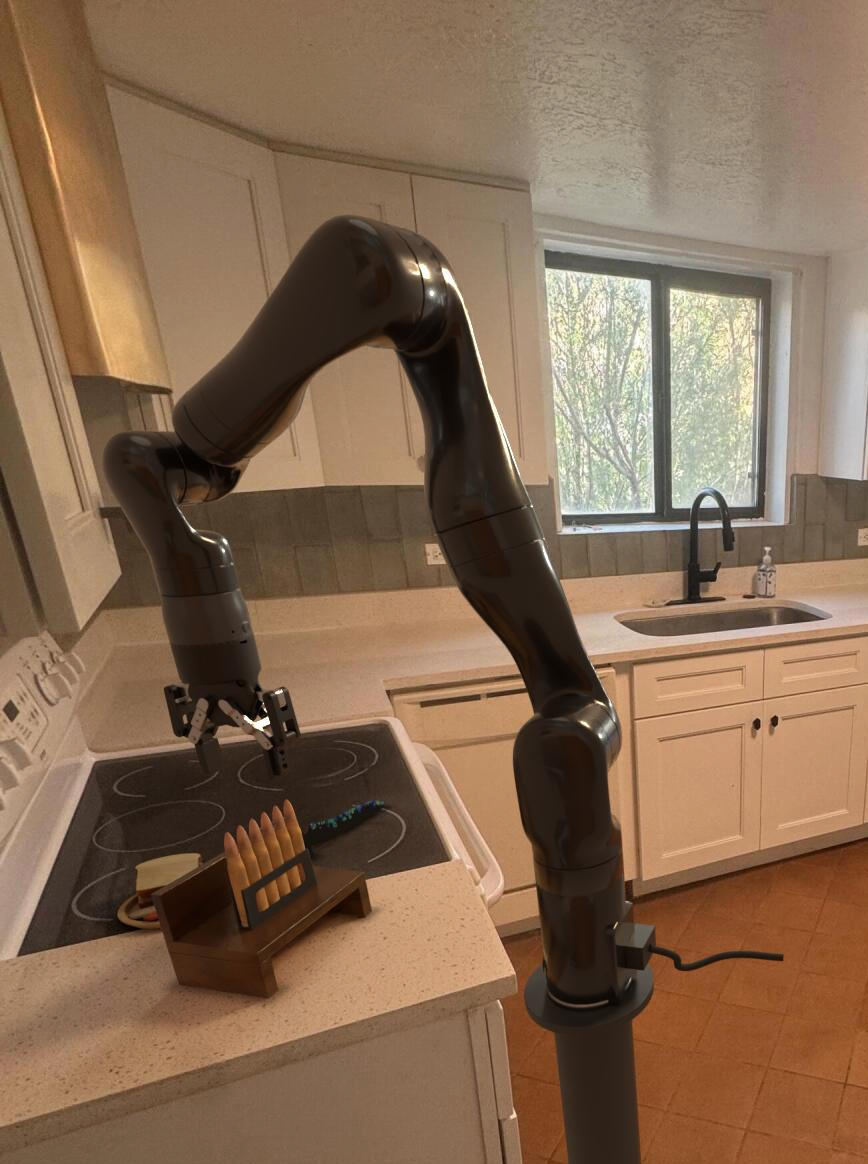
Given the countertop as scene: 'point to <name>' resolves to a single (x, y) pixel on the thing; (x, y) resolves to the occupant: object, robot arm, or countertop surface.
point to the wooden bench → (236, 955)
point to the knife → (339, 823)
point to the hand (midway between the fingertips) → (247, 774)
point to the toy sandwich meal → (154, 887)
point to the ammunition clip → (267, 867)
